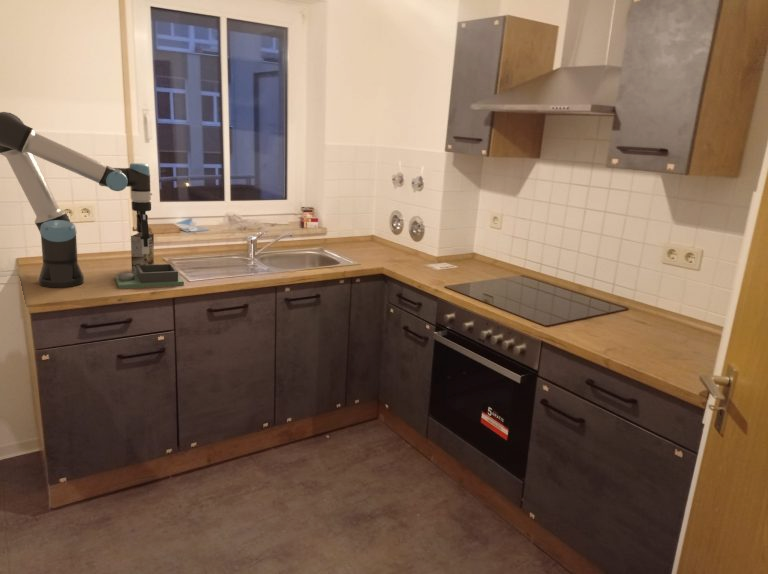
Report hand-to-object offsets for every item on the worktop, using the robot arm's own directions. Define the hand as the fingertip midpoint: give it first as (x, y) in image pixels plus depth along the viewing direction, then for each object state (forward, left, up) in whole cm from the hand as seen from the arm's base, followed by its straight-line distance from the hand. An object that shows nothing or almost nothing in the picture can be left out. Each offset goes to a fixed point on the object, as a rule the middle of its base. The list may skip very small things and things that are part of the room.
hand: (143, 250), depth 245 cm
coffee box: (0, 0, -9) cm, 9 cm away
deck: (0, -18, -9) cm, 20 cm away
